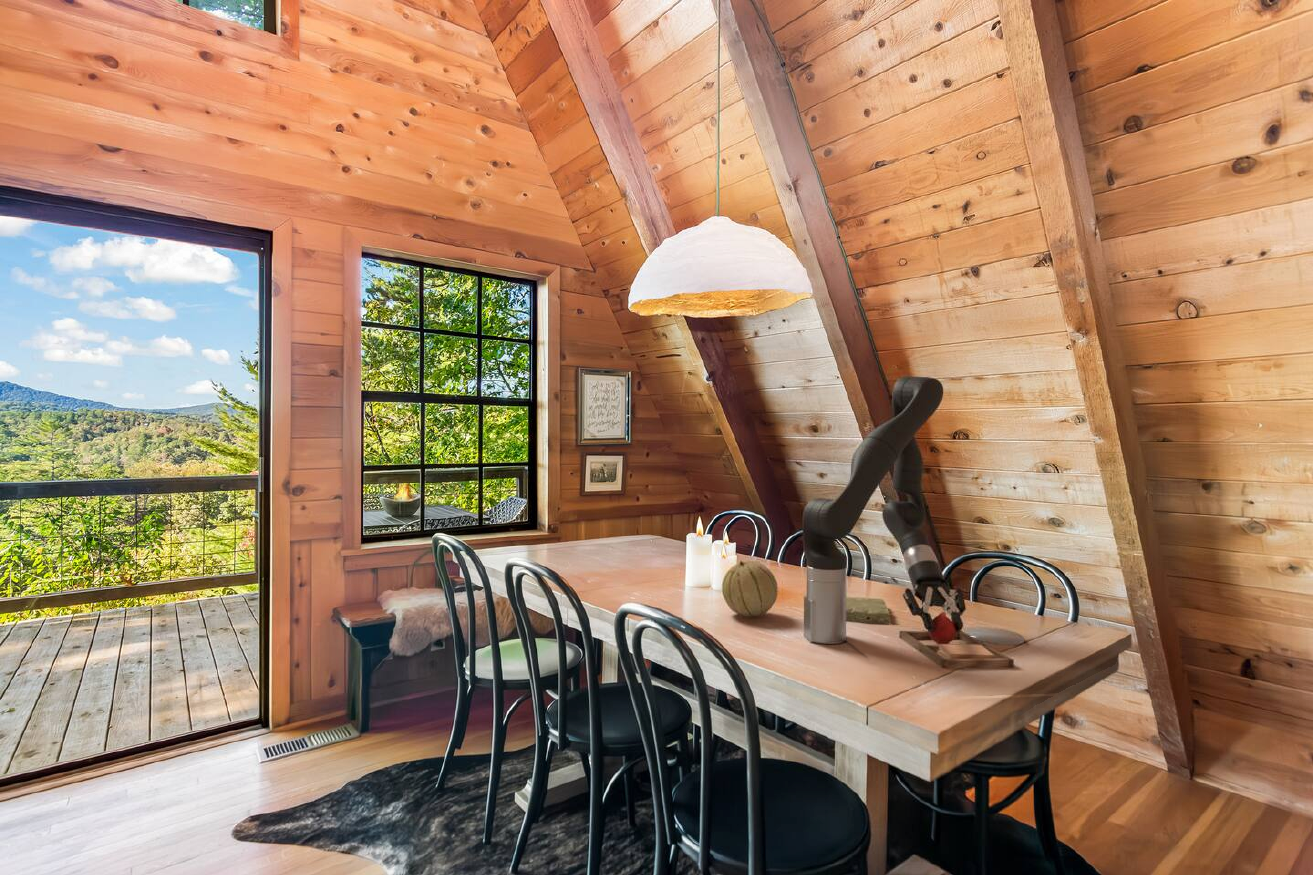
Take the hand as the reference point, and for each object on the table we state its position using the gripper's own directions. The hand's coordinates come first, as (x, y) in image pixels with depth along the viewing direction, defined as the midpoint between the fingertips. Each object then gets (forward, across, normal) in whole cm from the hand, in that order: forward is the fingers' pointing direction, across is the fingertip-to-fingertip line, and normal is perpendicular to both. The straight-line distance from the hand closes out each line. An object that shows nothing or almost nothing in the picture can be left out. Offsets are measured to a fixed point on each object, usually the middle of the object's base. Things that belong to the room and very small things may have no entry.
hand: (945, 629), depth 159 cm
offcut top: (+8, 0, -4) cm, 9 cm away
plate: (-2, +16, +8) cm, 18 cm away
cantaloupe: (-18, -39, +25) cm, 50 cm away
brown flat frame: (+5, 0, +1) cm, 5 cm away
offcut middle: (+9, 0, -3) cm, 10 cm away
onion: (+2, 0, +4) cm, 5 cm away
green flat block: (-19, -11, +27) cm, 35 cm away
